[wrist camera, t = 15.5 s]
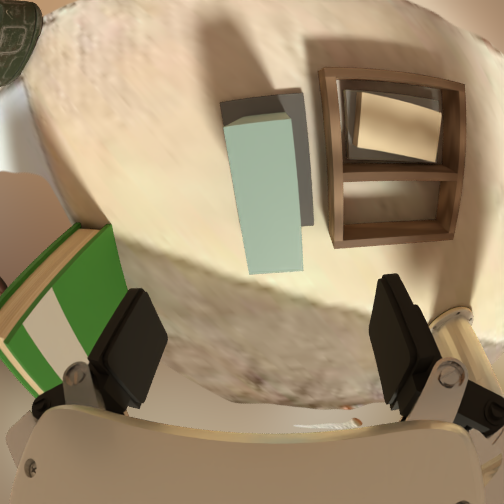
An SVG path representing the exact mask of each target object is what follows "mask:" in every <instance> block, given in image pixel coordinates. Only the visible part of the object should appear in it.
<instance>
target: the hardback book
mask: <svg viewBox="0 0 504 504" xmlns="http://www.w3.org/2000/svg"><path fill="white" fill-rule="evenodd" d="M127 291H128V289H127V286H126V282H125V279H124V275H123V271H122V267H121V264H120V260H119V255H118V251H117V247H116V243H115V238H114V234H113V229H112V224H106V225H105V226H104V227H103V228H102V229H101V230H94V229H81V225H80V223H75V224H74V225H73V226H72V227H70V228H69V229H68V230H67V231H66V232H65V233H63V235H61V236H60V237H59V238H58V239H57V240H56V241H54V242H53V243H52V244H51V245H50V246H49V247H48V248H47V249H46V250H45V251H43V253H41V254H40V255H39V256H38V257H37V258H36V259H35V260H34V261H33V262H32V263H31V264H30V265H29V266H28V267H27V268H26V269H25V270H24V271H23V272H22V273H21V274H20V275H19V276H18V277H17V278H16V279H15V281H14V282H13V283H12V284H11V285H10V286H9V287H8V288H7V289H6V290H5V291H4V293H3V294H2V295H1V296H0V359H1V360H2V361H3V363H4V364H5V365H6V366H7V367H8V369H9V370H10V371H11V372H12V373H13V374H14V376H15V377H16V378H17V379H18V380H19V381H20V383H22V385H23V386H24V387H25V388H26V389H27V390H28V391H29V392H30V393H31V394H32V395H33V396H34V397H35V398H37V397H38V396H39V395H40V394H42V393H44V392H46V391H48V390H50V389H52V388H54V387H56V386H57V385H59V384H61V383H63V374H64V372H65V370H66V369H67V368H68V367H69V366H70V365H71V364H73V363H75V362H78V361H82V362H85V363H86V364H89V360H88V359H87V358H88V356H89V354H90V352H91V351H92V349H93V347H94V345H95V344H96V342H97V340H98V338H99V337H100V335H101V333H102V332H103V330H104V328H105V327H106V325H107V323H108V322H109V320H110V318H111V317H112V315H113V313H114V312H115V310H116V309H117V307H118V305H119V304H120V302H121V301H122V299H123V298H124V296H125V294H126V293H127Z"/></svg>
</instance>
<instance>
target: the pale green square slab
mask: <svg viewBox="0 0 504 504" xmlns="http://www.w3.org/2000/svg"><path fill="white" fill-rule="evenodd" d="M223 129H224V135H225V140H226V146H227V152H228V158H229V164H230V169H231V175H232V181H233V186H234V192H235V198H236V203H237V209H238V214H239V220H240V226H241V231H242V237H243V242H244V248H245V253H246V259H247V264H248V270H249V275H250V274H265V273H280V272H294V271H303V252H302V234H301V219H300V205H299V192H298V180H297V169H296V159H295V149H294V140H293V131H292V123H291V118H290V117H289V116H288V115H287V114H286V112H279V113H269V114H260V115H252V116H245V117H242V118H240V119H238V120H236V121H234V122H232V123H230V124H228V125H226V126H225V127H223Z"/></svg>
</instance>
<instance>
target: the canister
mask: <svg viewBox="0 0 504 504" xmlns="http://www.w3.org/2000/svg"><path fill="white" fill-rule="evenodd" d="M41 28H42V13H41V10H40V8H39V7H38V6H37V4H35V3H33V2H27V1H16V0H0V87H1V86H6V85H8V84H10V83H11V82H13V81H14V80H15V79H17V78H18V76H19V75H20V74H21V72H22V70H23V68H24V67H25V65H26V63H27V62H28V60H29V58H30V56H31V54H32V51H33V48H34V46H35V43H36V40H37V37H38V36H40V32H41Z"/></svg>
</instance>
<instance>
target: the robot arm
mask: <svg viewBox="0 0 504 504" xmlns="http://www.w3.org/2000/svg"><path fill="white" fill-rule="evenodd" d="M472 323H473V314H472V312H471V310H470V309H469V308H467V307H456V308H453V309H451V310H448V311H446V312H445V313H443V314H442V315H440V316H439V317H438V318H436V319H435V320H434V321H433V322H432V323H431V324H430V325H429V326H428V324H427V322H426V320H425V318H424V316H423V314H422V311H421V309H420V308H419V306H418V305H416V304H415V305H414V304H413V302H412V300H411V298H410V296H409V294H408V292H407V290H406V288H405V286H404V285H403V283H402V281H401V279H400V277H399V275H398V274H397V273H394V274H384V275H383V276H382V279H378V282H377V288H376V294H375V299H374V305H373V310H372V315H371V320H370V324H369V336H370V340H371V344H372V347H373V351H374V355H375V359H376V363H377V367H378V372H379V376H380V380H381V385H382V390H383V394H384V399H385V403H386V404H390V408H391V410H396V409H399V411H400V414H401V415H402V417H401V419H400V420H399V422H395V423H389V424H382V425H375V426H370V427H362V428H354V429H346V430H336V431H325V432H313V433H291V434H256V433H235V432H221V431H210V430H202V429H193V428H187V427H180V426H174V425H168V424H162V423H157V422H151V421H147V420H142V419H138V418H133V417H129V415H128V412H127V410H126V409H127V407H128V406H129V407H133V408H138V409H140V406H141V403H144V402H145V400H146V397H147V394H148V391H149V388H150V386H151V383H152V380H153V378H154V375H155V372H156V370H157V367H158V364H159V362H160V359H161V357H162V354H163V351H164V349H165V346H166V344H167V341H168V336H167V333H166V331H165V329H164V327H163V325H162V323H161V321H160V319H159V317H158V315H157V312H156V310H155V308H154V306H153V304H152V302H151V299H150V297H149V295H148V293H147V292H145V291H144V290H143V289H142V288H131V289H129V290H128V291H127V293H126V294H125V296H124V298H123V299H122V301H121V302H120V304H119V305H118V307H117V309H116V310H115V312H114V313H113V315H112V317H111V318H110V320H109V322H108V323H107V325H106V327H105V328H104V330H103V332H102V333H101V335H100V337H99V338H98V340H97V342H96V344H95V345H94V347H93V349H92V351H91V352H90V354H89V356H88V358H87V359H88V360H89V364H86V363H85V362H82V361H78V362H75V363H73V364H71V365H70V366H69V367H68V368H67V369H66V370H65V372H64V374H63V383H61V384H59V385H57V386H56V387H54V388H52V389H50V390H48V391H46V392H44V393H42V394H40V395H39V396H38V397H37V398H36V399H35V400H34V402H33V405H32V412H31V411H30V410H29V411H28V412H27V413H26V414H25V415H24V416H23V417H22V418H21V419H20V420H19V421H18V422H16V423H15V424H14V425H13V426H12V427H11V428H10V429H9V431H8V432H7V435H6V442H7V445H8V448H9V450H10V453H11V455H12V458H13V460H14V462H15V464H16V466H17V468H18V470H17V473H16V476H15V480H14V483H13V487H12V491H11V495H10V500H9V504H504V394H503V391H502V389H501V387H500V385H499V382H498V380H497V378H496V375H495V373H494V371H493V369H492V366H491V364H490V362H489V360H488V358H487V356H486V354H485V352H484V350H483V348H482V346H481V344H480V342H479V340H478V338H477V336H476V334H475V332H474V330H473V329H472V327H471V326H472Z"/></svg>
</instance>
